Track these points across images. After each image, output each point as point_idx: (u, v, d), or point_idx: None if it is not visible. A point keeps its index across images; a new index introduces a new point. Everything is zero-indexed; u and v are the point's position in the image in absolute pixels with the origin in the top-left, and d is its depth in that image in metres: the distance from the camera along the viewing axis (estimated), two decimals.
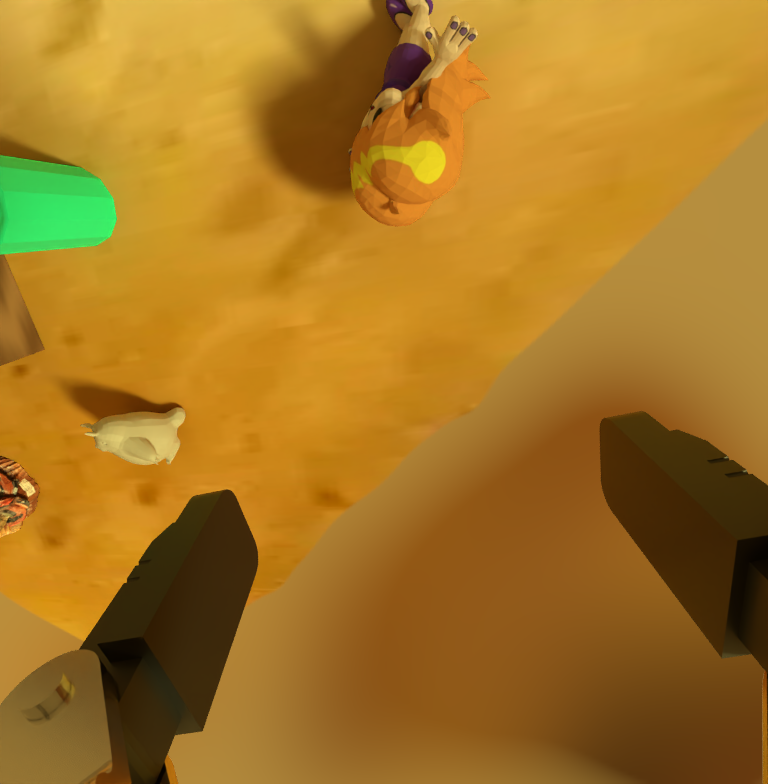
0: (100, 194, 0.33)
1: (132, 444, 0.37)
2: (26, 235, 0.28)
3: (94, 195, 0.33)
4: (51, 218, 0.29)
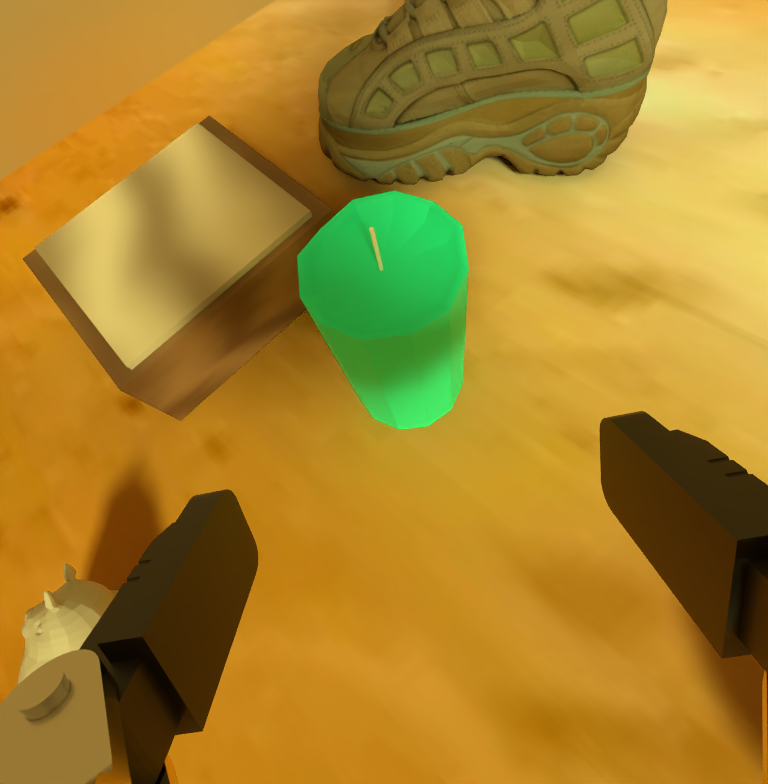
0: (453, 397, 0.22)
1: None
2: (384, 360, 0.15)
3: (451, 393, 0.22)
4: (420, 374, 0.17)
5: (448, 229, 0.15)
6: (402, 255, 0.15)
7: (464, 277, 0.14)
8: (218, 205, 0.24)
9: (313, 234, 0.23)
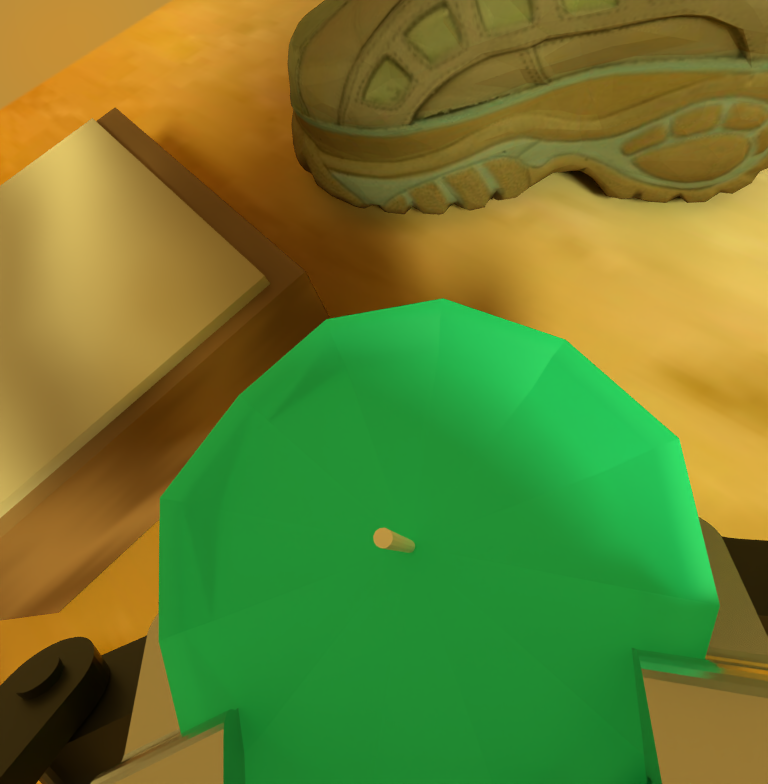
0: None
1: None
2: None
3: None
4: None
5: (622, 439, 0.05)
6: (470, 501, 0.05)
7: (706, 640, 0.04)
8: (108, 261, 0.14)
9: (272, 315, 0.13)
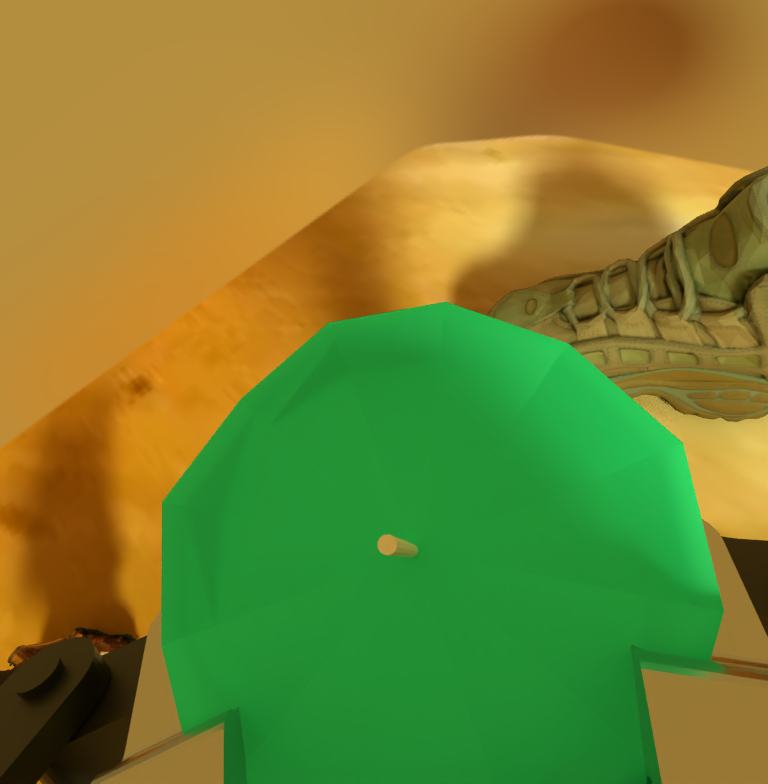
0: None
1: None
2: None
3: None
4: None
5: (625, 444, 0.05)
6: (472, 504, 0.05)
7: (710, 645, 0.04)
8: None
9: None
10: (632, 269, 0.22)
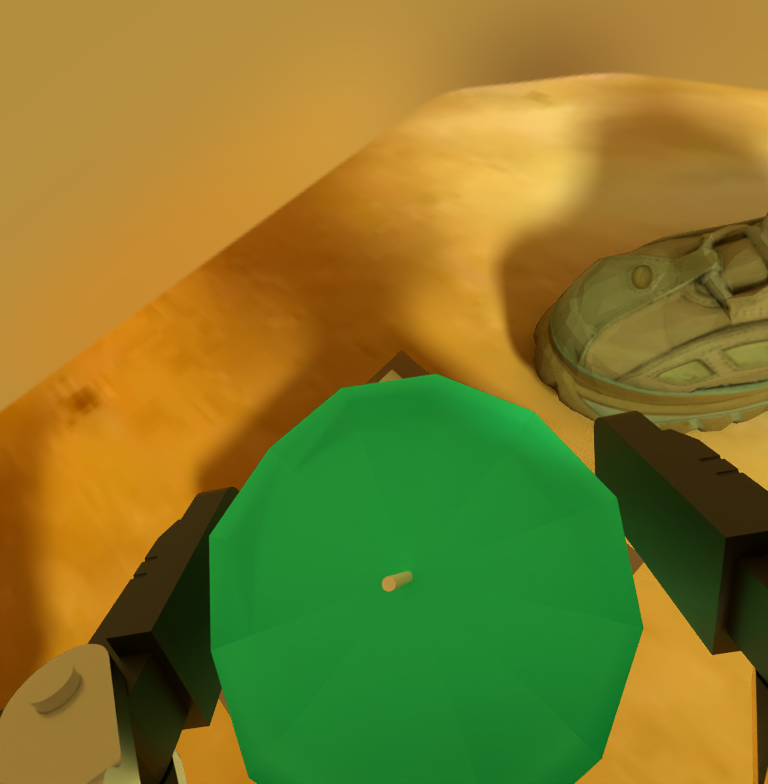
0: None
1: None
2: None
3: None
4: None
5: (575, 495, 0.06)
6: (456, 541, 0.06)
7: (632, 654, 0.05)
8: None
9: None
10: None
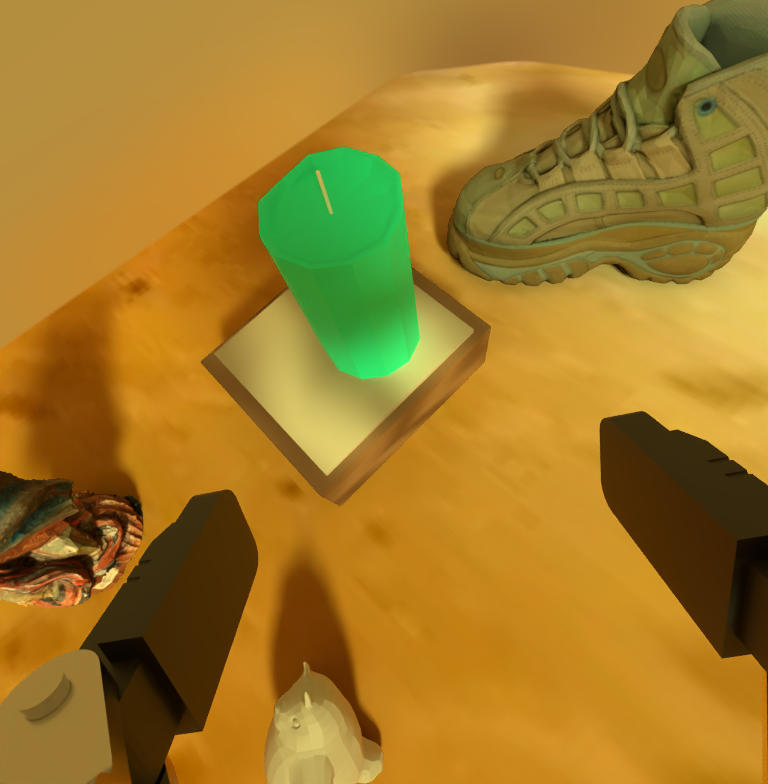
0: (409, 347, 0.25)
1: (319, 773, 0.19)
2: (333, 293, 0.18)
3: (407, 342, 0.24)
4: (369, 311, 0.19)
5: (388, 178, 0.17)
6: (349, 201, 0.18)
7: (400, 217, 0.17)
8: None
9: (472, 347, 0.26)
10: (585, 123, 0.25)
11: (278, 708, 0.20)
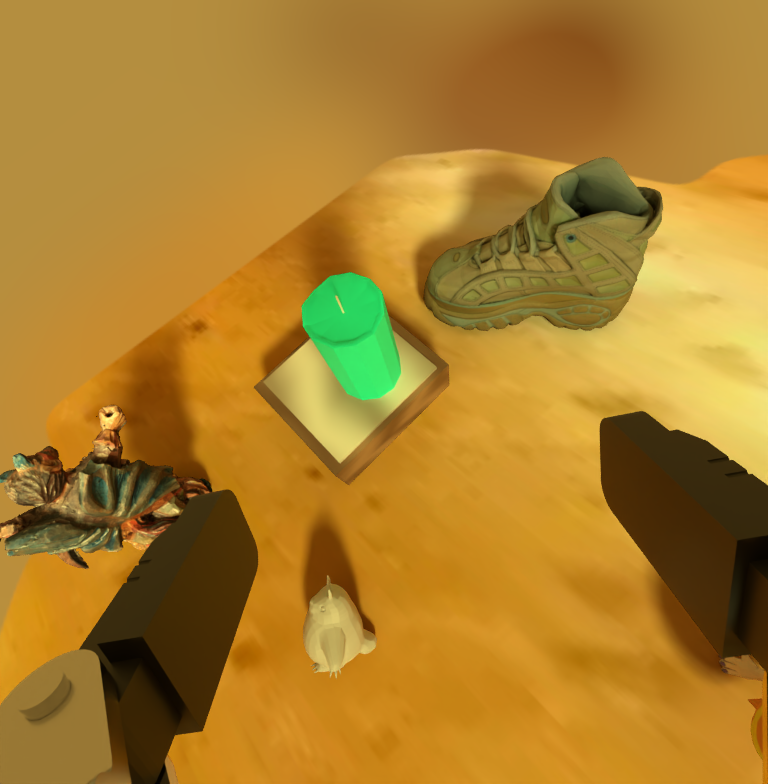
0: (393, 380, 0.38)
1: (337, 636, 0.32)
2: (345, 358, 0.31)
3: (391, 377, 0.37)
4: (365, 365, 0.32)
5: (376, 293, 0.30)
6: (353, 305, 0.31)
7: (382, 318, 0.30)
8: None
9: (436, 378, 0.40)
10: (510, 230, 0.38)
11: (312, 601, 0.33)
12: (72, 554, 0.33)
